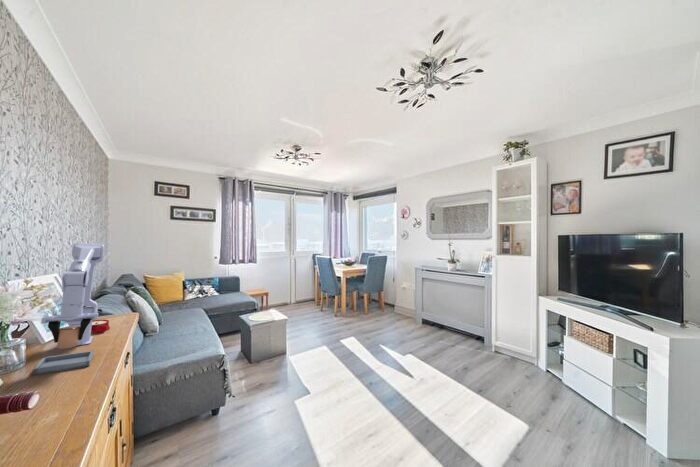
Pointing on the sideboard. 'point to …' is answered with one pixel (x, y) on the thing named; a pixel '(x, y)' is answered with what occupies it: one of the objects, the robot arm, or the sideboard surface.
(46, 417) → the sideboard surface
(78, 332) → the cup
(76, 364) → the tray
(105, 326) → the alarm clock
